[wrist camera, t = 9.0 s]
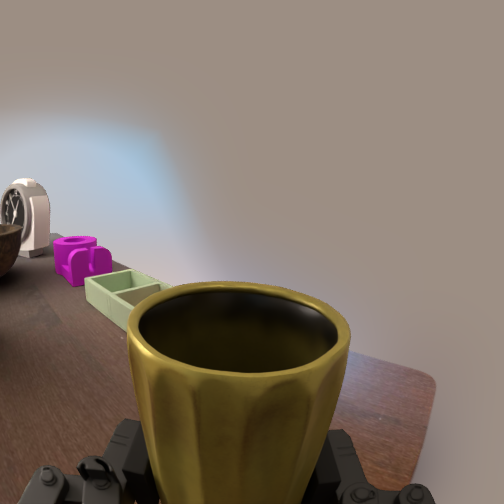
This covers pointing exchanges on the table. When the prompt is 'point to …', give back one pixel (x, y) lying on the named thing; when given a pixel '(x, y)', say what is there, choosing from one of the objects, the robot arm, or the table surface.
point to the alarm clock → (27, 214)
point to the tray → (120, 293)
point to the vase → (235, 389)
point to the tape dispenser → (80, 258)
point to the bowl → (9, 246)
